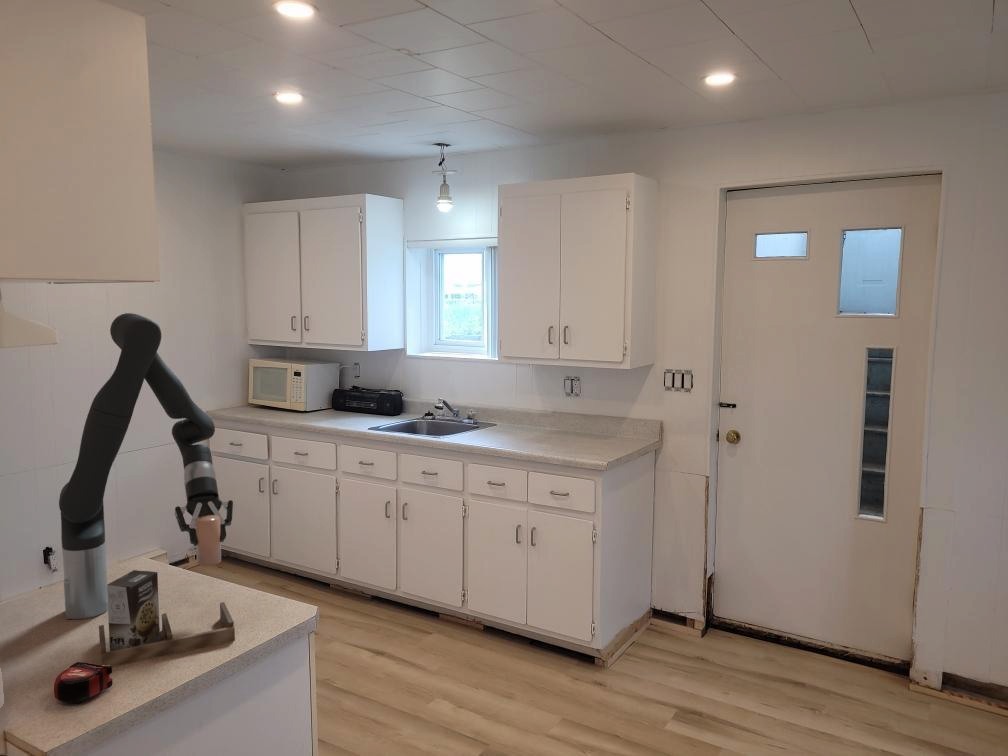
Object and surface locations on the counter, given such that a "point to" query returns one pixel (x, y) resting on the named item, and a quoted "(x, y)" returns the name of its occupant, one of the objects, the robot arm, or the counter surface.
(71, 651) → the counter surface
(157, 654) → the wooden rack
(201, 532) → the pink rounded cylinder
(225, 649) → the counter surface
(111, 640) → the coffee box
